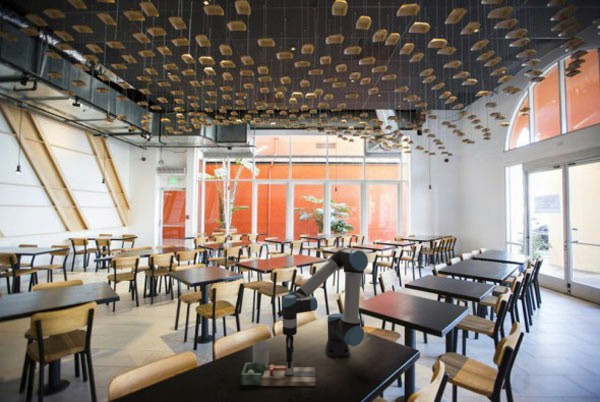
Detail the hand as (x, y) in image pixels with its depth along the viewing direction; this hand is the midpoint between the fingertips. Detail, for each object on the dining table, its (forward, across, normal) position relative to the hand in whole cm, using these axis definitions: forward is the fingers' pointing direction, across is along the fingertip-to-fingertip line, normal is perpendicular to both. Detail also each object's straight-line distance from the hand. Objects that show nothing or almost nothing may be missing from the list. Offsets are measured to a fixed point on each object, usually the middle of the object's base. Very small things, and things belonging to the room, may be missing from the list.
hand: (289, 371), depth 152 cm
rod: (+1, 0, -4) cm, 4 cm away
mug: (+4, -16, -18) cm, 24 cm away
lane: (+3, 0, -6) cm, 6 cm away
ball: (+1, 0, -20) cm, 21 cm away
